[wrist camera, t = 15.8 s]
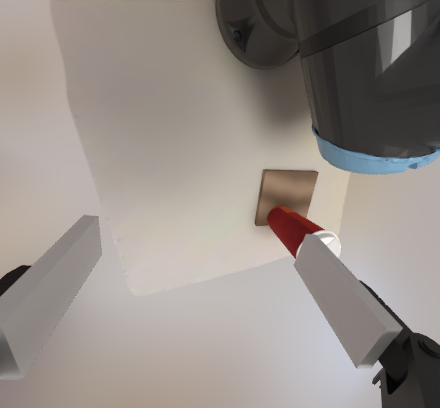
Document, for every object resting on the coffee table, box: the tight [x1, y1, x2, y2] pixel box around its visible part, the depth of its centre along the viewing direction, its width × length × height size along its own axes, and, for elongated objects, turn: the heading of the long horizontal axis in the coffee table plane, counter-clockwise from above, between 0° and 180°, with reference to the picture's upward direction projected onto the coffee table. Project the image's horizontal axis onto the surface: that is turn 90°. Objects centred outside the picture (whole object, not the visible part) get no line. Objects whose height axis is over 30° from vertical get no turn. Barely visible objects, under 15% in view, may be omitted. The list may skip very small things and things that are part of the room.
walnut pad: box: [255, 170, 318, 226], centre depth 44 cm, size 12×12×1 cm
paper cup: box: [267, 206, 341, 259], centre depth 39 cm, size 8×8×14 cm
